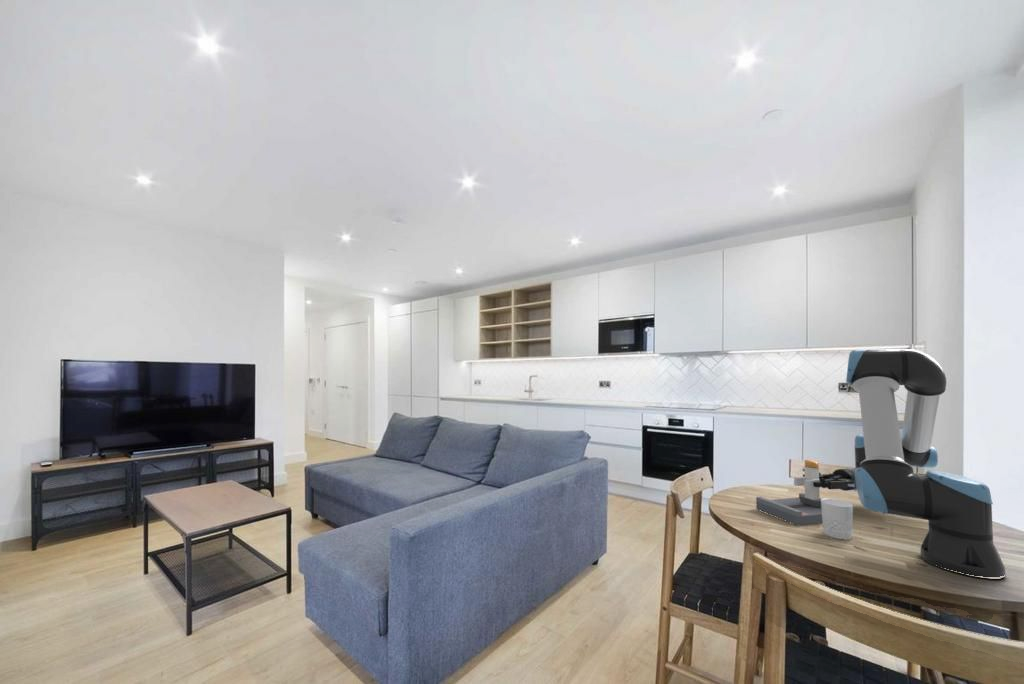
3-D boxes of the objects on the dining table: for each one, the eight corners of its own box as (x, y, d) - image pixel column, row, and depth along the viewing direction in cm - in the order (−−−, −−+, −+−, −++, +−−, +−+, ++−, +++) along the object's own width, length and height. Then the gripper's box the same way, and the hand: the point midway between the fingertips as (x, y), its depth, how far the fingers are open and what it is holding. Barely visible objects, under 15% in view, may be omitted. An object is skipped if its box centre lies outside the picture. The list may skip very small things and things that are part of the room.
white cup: (859, 538, 126) (858, 505, 127) (843, 542, 123) (842, 507, 124) (831, 529, 133) (831, 497, 134) (815, 532, 131) (814, 499, 131)
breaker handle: (825, 506, 146) (824, 462, 147) (816, 507, 145) (815, 463, 145) (808, 501, 151) (807, 459, 152) (800, 501, 150) (799, 459, 151)
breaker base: (847, 520, 142) (847, 506, 142) (797, 525, 136) (797, 511, 136) (803, 505, 157) (803, 493, 157) (756, 509, 151) (756, 496, 151)
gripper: (873, 496, 145) (822, 501, 139) (827, 483, 161) (779, 487, 155) (873, 474, 146) (822, 478, 139) (827, 463, 161) (779, 466, 155)
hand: (800, 482), depth 147 cm, fingers closed on breaker handle, 3 cm apart
